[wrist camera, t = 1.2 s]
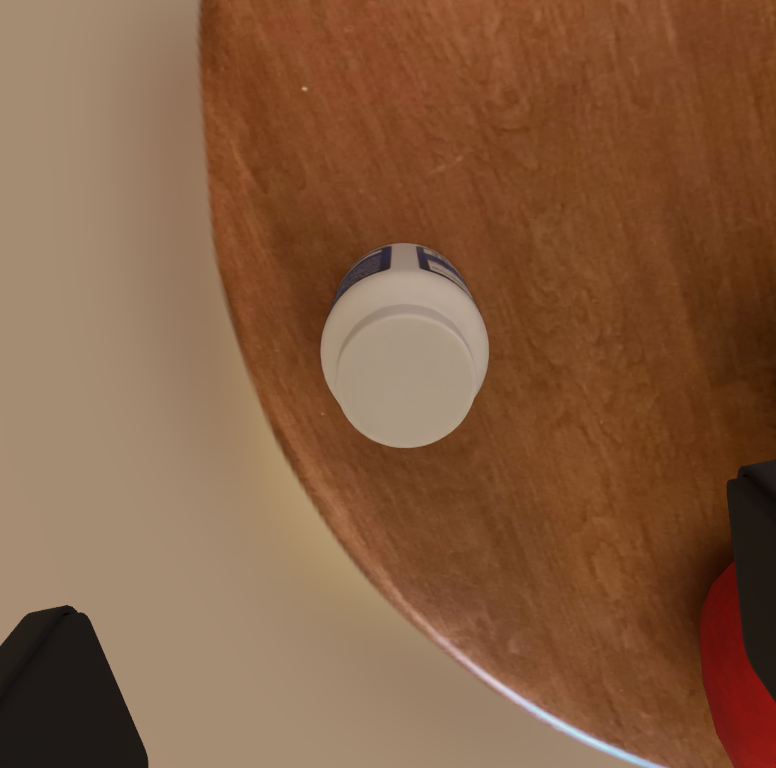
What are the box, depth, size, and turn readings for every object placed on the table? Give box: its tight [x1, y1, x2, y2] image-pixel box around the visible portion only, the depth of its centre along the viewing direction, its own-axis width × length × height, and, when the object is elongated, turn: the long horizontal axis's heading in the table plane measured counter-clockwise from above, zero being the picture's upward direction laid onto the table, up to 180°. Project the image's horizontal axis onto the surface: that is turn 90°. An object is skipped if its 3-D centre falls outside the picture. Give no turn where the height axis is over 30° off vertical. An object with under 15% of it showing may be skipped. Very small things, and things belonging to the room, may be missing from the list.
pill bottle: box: [321, 243, 489, 448], centre depth 25 cm, size 5×5×10 cm
